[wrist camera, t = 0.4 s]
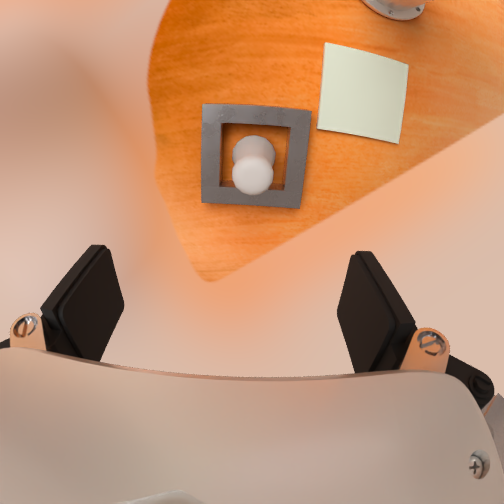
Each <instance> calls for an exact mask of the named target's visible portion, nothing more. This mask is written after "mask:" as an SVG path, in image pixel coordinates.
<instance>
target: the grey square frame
mask: <svg viewBox="0 0 504 504" xmlns="http://www.w3.org/2000/svg"><path fill="white" fill-rule="evenodd" d="M311 112H312V111H310V110H305V109H296V108H287V107H277V106H264V105H248V104H213V103H206V104H202V144H201V200H202V203H222V204H241V205H257V206H272V207H286V208H298V209H300V203H301V196H302V188H303V181H304V173H305V165H306V157H307V148H308V140H309V131H310V122H311ZM223 123H244V124H261V125H274V126H285V127H288V134H287V144H286V154H285V164H284V174H283V184H275V183H271V185H270V186H269V188H268V189H267V190H266V191H264V192H263V193H261V194H258V195H248V194H245V193H242V192H241V191H240V190H239V189H237V188H236V186H235V184H234V181H225V180H222V149H223Z"/></svg>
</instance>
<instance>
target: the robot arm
mask: <svg viewBox="0 0 504 504" xmlns="http://www.w3.org/2000/svg"><path fill="white" fill-rule="evenodd" d="M362 1H363V2H364V3H365V4H366V5H367V6H368V7H369V8H371V9H372V10H374V11H375V12H377V13H379V14H381V15H383V16H385V17H388V18H390V19H395V20H410V19H413V18H415V17H417V16H419V15H420V14H421V13H422V11H423V9H424V7H425V3H427V2H430V1H433V0H362ZM389 13H390V14H389ZM40 309H41V311H42V313H43V315H42V316H41V317H40V316H39V315H38V314H35V313H28V314H24V315H22V316H20V317H19V318H18V319H17V320H16V321H15V322H14V323H13V324H12V326H11V328H10V338H9V339H7V340H5V341H3V342H0V504H504V398H503V397H502V396H501V395H500V394H499V393H498V394H497V395H496V396H495V395H494V386H493V383H492V381H491V379H490V378H489V377H488V376H487V375H486V374H484V373H483V372H482V371H480V370H478V369H476V368H474V367H472V366H470V365H468V364H466V363H464V362H463V361H461V360H459V359H457V358H455V357H453V356H451V355H449V353H450V345H449V342H448V340H447V339H446V337H445V336H444V335H442V334H441V333H440V332H438V331H437V330H435V329H432V328H420V329H417V327H416V325H415V320H414V319H413V317H412V315H411V313H410V312H409V310H408V308H407V306H406V305H405V303H404V302H403V300H402V298H401V296H400V295H399V293H398V292H397V290H396V288H395V287H394V285H393V284H392V282H391V280H390V279H389V277H388V276H387V274H386V273H385V271H384V270H383V268H382V266H381V265H380V263H379V262H378V261H377V259H376V258H375V256H374V255H373V253H372V252H370V251H357V252H356V253H355V255H352V256H351V258H350V262H349V266H348V270H347V274H346V279H345V282H344V286H343V290H342V294H341V297H340V301H339V305H338V309H337V317H338V320H339V323H340V326H341V329H342V332H343V336H344V339H345V342H346V345H347V348H348V351H349V354H350V358H351V361H352V365H353V368H354V371H355V373H354V374H343V375H325V376H307V377H228V376H209V375H195V374H183V373H172V372H163V371H155V370H147V369H139V368H133V367H126V366H120V365H114V364H108V363H103V362H100V360H101V357H102V355H103V353H104V351H105V348H106V346H107V344H108V342H109V339H110V337H111V335H112V333H113V331H114V329H115V327H116V324H117V322H118V320H119V318H120V316H121V314H122V312H123V310H124V300H123V297H122V293H121V290H120V286H119V283H118V279H117V276H116V272H115V268H114V264H113V260H112V256H111V252H110V250H109V249H107V247H106V246H105V245H91V246H90V247H89V248H88V249H87V250H86V252H85V253H84V254H83V255H82V256H81V257H80V258H79V260H78V261H77V262H76V263H75V264H74V265H73V267H72V268H71V269H70V270H69V272H68V273H67V274H66V275H65V276H64V278H63V279H62V280H61V281H60V283H59V284H58V285H57V286H56V288H55V289H54V290H53V292H52V293H51V294H50V296H49V297H48V298H47V300H46V301H45V302H44V304H43V305H42V306H41V308H40Z"/></svg>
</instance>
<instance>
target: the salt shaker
mask: <svg viewBox="0 0 504 504" xmlns="http://www.w3.org/2000/svg"><path fill="white" fill-rule="evenodd" d="M275 155H276V153H275V151H274V148H273V146H272V144H271V143H270V142H269V141H268V140H267V139H266V138H263V137H260V136H257V135H253V136H246V137H244V138H243V139H241V140H240V141H238V142H237V144H236V146H235V147H234V149H233V156H232V160H233V162H234V164H235V165H234V167H233V169H232V179H233V181H234V184H235V186H236V188H237V189H239V190H240V191H241V192H242V193H245V194H248V195H258V194H261V193H263V192H264V191H266V190H267V189H268V188H269V186H270V185H271V183H272V181H273V174H274V172H273V169H272V166H273V164H274V162H275Z"/></svg>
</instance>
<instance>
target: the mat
mask: <svg viewBox="0 0 504 504" xmlns="http://www.w3.org/2000/svg"><path fill="white" fill-rule="evenodd" d="M407 77H408V64H405V63H402V62H399V61H396V60H393V59H390V58H387V57H383V56H380V55H377V54H373V53H369V52H366V51H362V50H358V49H354V48H350V47H345V46H341V45H336V44H331V43H324V50H323V63H322V76H321V87H320V97H319V107H318V117H317V126H316V128H317V129H323V130H330V131H337V132H343V133H349V134H354V135H360V136H365V137H370V138H375V139H379V140H384V141H389V142H393V143H397V144H399V139H400V133H401V126H402V120H403V113H404V105H405V97H406V88H407Z"/></svg>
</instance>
